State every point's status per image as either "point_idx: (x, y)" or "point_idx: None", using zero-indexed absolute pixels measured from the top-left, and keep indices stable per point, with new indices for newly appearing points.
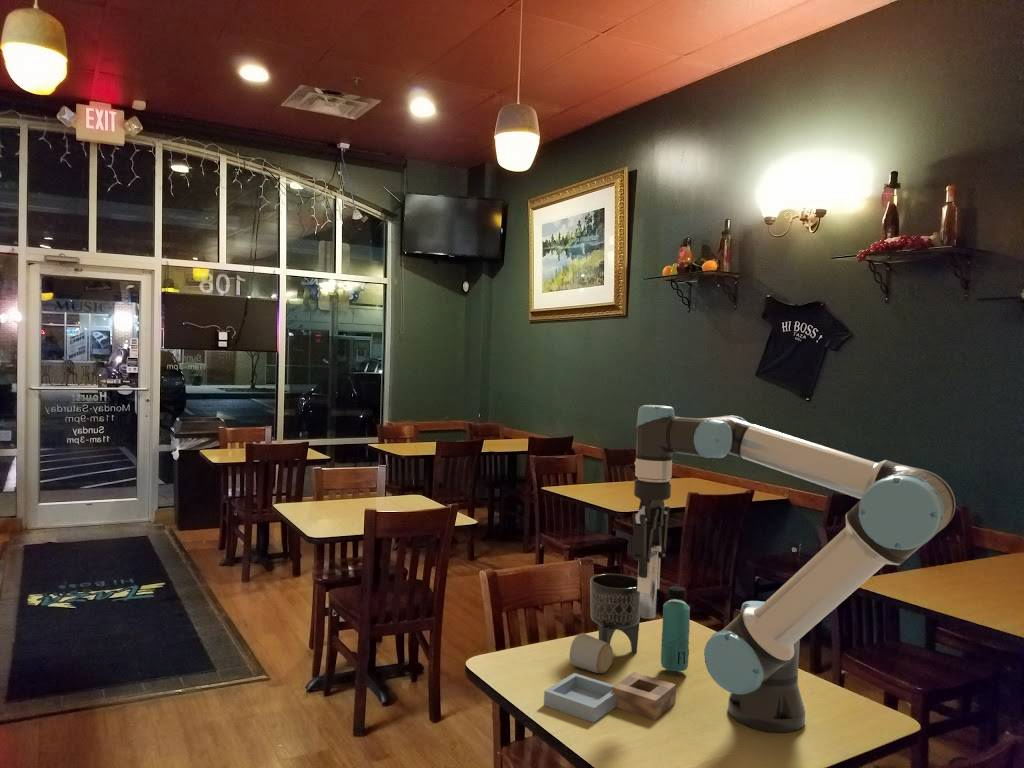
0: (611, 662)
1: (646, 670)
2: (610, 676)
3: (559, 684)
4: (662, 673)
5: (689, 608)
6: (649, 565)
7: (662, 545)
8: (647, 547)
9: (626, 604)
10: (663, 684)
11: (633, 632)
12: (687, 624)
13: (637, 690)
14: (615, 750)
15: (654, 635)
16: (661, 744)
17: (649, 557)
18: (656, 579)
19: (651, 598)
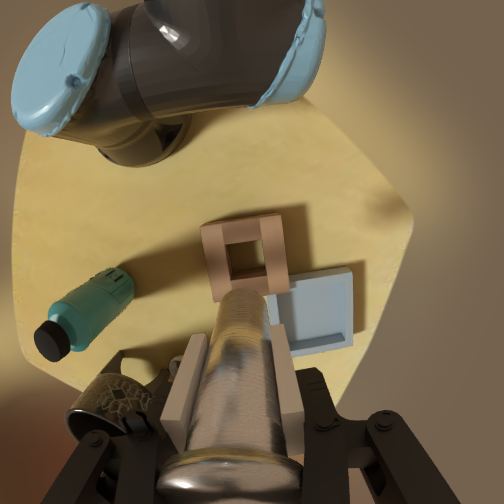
0: (178, 356)
1: (148, 314)
2: (206, 337)
3: (323, 348)
4: (137, 293)
5: (54, 303)
6: (300, 402)
7: (102, 466)
8: (348, 490)
9: (121, 402)
10: (216, 241)
11: (112, 370)
12: (76, 291)
13: (270, 257)
14: (382, 203)
15: (67, 357)
16: (329, 168)
17: (317, 435)
18: (231, 349)
19: (257, 316)
